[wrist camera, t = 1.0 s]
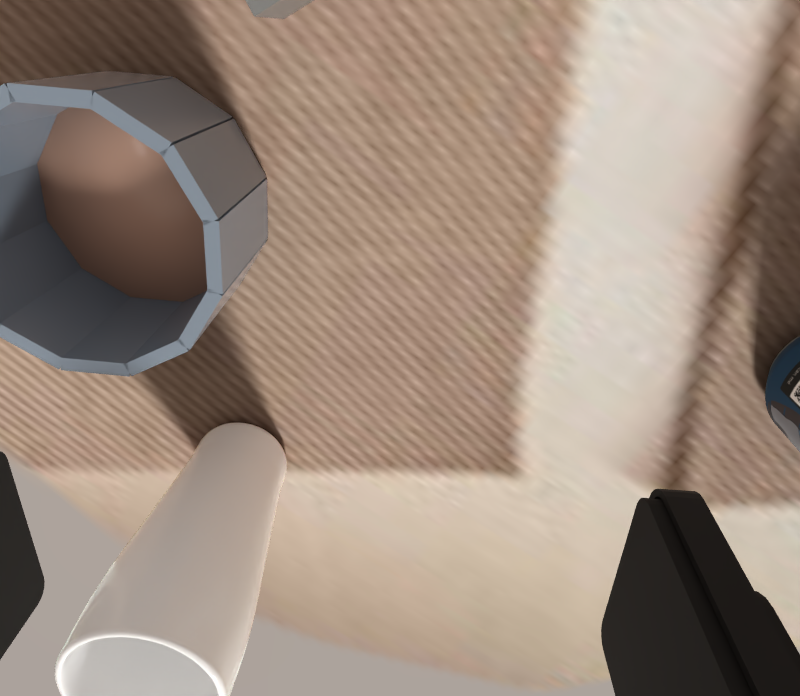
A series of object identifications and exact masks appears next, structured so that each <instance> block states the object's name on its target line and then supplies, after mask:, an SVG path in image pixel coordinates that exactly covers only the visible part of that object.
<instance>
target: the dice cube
mask: <svg viewBox="0 0 800 696" xmlns="http://www.w3.org/2000/svg"><path fill="white" fill-rule="evenodd" d="M312 1H314V0H246V2H247V4H248V6H249V8H250V9H251V11H252V13H253V15H254V16H255V17H266V18H278V19H285V18H286V17H288V16H290V15H291V14H293V13H294V12H296V11H298V10H299V9H301V8H302V7H304V6H306V5H307V4H309V3H310V2H312Z"/></svg>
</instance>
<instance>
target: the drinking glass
mask: <svg viewBox="0 0 800 696" xmlns="http://www.w3.org/2000/svg"><path fill="white" fill-rule="evenodd" d="M286 471H287V460H286V455H285V452H284V450H283V448H282V446H281V445H280V443H279V442H278V441H277V440H276V438H275V437H274V436H272V435H271V434H270V433H269V432H267V431H266V430H264V429H262V428H260V427H258V426H255V425H252V424H248V423H239V422H236V423H227V424H223V425H220V426H218V427H216V428H214V429H212V430H211V431H209V432H208V433H207V434H206V435H205V436H204V437H203V438H202V440H201V441H200V443H199V444H198V446H197V448H196V449H195V451H194V453H193V455H192V456H191V458H190V459H189V461H188V462H187V464H186V465H185V466H184V468H183V469H182V471H181V472H180V473H179V475H178V476H177V477H176V479H175V480H174V481H173V483H172V484H171V486H170V487H169V488H168V490H167V491H166V492H165V494H164V495H163V496H162V498H161V499H160V500H159V502H158V503H157V505H156V506H155V507H154V509H153V510H152V511H151V513H150V514H149V515H148V517H147V518H146V519H145V521H144V522H143V523H142V525H141V526H140V527H139V529H138V530H137V531H136V533H135V534H134V535H133V537H132V538H131V539H130V541H129V542H128V543H127V545H126V546H125V547H124V549H123V550H122V552H121V553H120V555H119V556H118V557H117V559H116V560H115V561H114V563H113V564H112V566H111V567H110V569H109V570H108V572H107V573H106V575H105V576H104V578H103V579H102V581H101V582H100V584H99V585H98V587H97V588H96V590H95V592H94V593H93V595H92V597H91V598H90V600H89V602H88V603H87V605H86V607H85V608H84V610H83V612H82V614H81V616H80V617H79V619H78V621H77V623H76V624H75V626H74V628H73V630H72V632H71V634H70V636H69V638H68V640H67V641H66V644H65V645H64V647H63V649H62V651H61V653H60V654H59V656H58V659H57V661H56V665H55V679H56V684H57V687H58V689H59V691H60V693H61V695H62V696H230V694H231V691H232V688H233V685H234V683H235V680H236V677H237V674H238V671H239V668H240V665H241V662H242V659H243V656H244V653H245V650H246V646H247V643H248V639H249V636H250V632H251V629H252V625H253V621H254V617H255V612H256V608H257V603H258V598H259V594H260V589H261V584H262V579H263V573H264V568H265V563H266V558H267V553H268V548H269V543H270V538H271V534H272V529H273V524H274V519H275V514H276V510H277V505H278V500H279V496H280V491H281V488H282V485H283V482H284V479H285V476H286Z"/></svg>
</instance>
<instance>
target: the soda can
mask: <svg viewBox="0 0 800 696" xmlns="http://www.w3.org/2000/svg"><path fill="white" fill-rule="evenodd" d="M765 400H766V406H767V410H768V413H769V415H770V417H771V419H772V420H773V422H774V423H775V424H776V425H777V426H778V428H779V429H780V430H781V431H782V432H783V433H784V434H785V436H786V437H787V438H788V439H789V440H790V441H791V442H792V444H793V445H794V446H795V447H796V448H797V449H798V450H799V452H800V336H798V337H796V338H795V339H793V340H792V341H791V342H790V343H788V344H787V345H786V346H785V347H784V348H783V349H782V350H781V351H780V352H779V354H778V355H777V356H776V358H775V360H774V361H773V363H772V365H771V368H770V370H769V374H768V378H767V383H766V391H765Z"/></svg>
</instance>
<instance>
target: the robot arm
mask: <svg viewBox="0 0 800 696" xmlns="http://www.w3.org/2000/svg"><path fill="white" fill-rule="evenodd" d="M43 590H44V576H43V573H42V570H41V567H40V563H39V560H38V557H37V554H36V550H35V547H34V544H33V541H32V537H31V534H30V531H29V528H28V524H27V521H26V518H25V515H24V512H23V508H22V505H21V502H20V499H19V495H18V492H17V489H16V485H15V482H14V479H13V476H12V472H11V469H10V466H9V463H8V459H7V457H6V455H5V454H4V453H3V452H0V659H1V658H2V656H3V655H4V653H5V652H6V650H7V649H8V647H9V646H10V645H11V643H12V642H13V640H14V639H15V637H16V636H17V634H18V633H19V631H20V630H21V628H22V627H23V625H24V624H25V622H26V621H27V620H28V618H29V617H30V615H31V613H32V612H33V611H34V609H35V608H36V606H37V605H38V603H39V601H40V599H41V597H42V594H43ZM601 637H602V645H603V650H604V654H605V658H606V662H607V665H608V669H609V673H610V677H611V681H612V684H613V688H614V692H615V696H800V654H799V652H798V651H797V649H796V647H795V645H794V644H793V642H792V640H791V638H790V637H789V635H788V633H787V631H786V630H785V628H784V626H783V624H782V622H781V621H780V619H779V617H778V615H777V614H776V612H775V610H774V608H773V607H772V606H771V604H770V603H769V602H768V600H767V599H766V598H765V597H764V596H763V595H761V594H760V593H759V592H757V591H754V589H753V588H752V586H751V584H750V582H749V580H748V579H747V577H746V575H745V573H744V571H743V570H742V568H741V566H740V564H739V562H738V561H737V559H736V557H735V555H734V553H733V552H732V550H731V548H730V546H729V544H728V542H727V541H726V539H725V537H724V535H723V533H722V532H721V530H720V528H719V526H718V524H717V523H716V521H715V519H714V517H713V515H712V514H711V512H710V510H709V508H708V506H707V505H706V503H705V501H704V499H703V498H702V496H701V495H700V494H699V493H697V492H695V491H681V490H668V489H655V490H654V491H653V492H652V493H651V495H650V498H641V499H640V500H639V501H638V503H637V506H636V509H635V513H634V516H633V519H632V523H631V526H630V530H629V533H628V536H627V540H626V543H625V547H624V550H623V553H622V557H621V560H620V563H619V567H618V570H617V574H616V577H615V580H614V584H613V587H612V591H611V594H610V597H609V601H608V604H607V607H606V611H605V614H604V618H603V621H602V629H601Z"/></svg>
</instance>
